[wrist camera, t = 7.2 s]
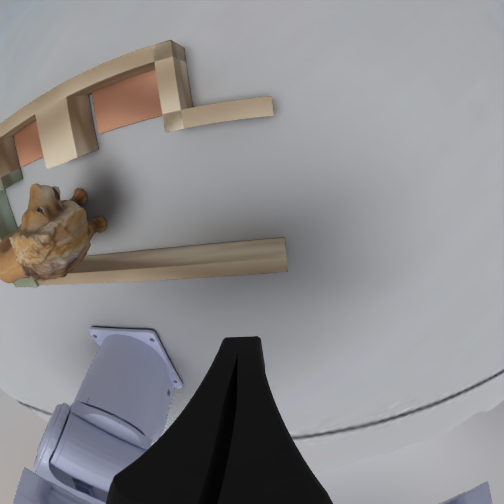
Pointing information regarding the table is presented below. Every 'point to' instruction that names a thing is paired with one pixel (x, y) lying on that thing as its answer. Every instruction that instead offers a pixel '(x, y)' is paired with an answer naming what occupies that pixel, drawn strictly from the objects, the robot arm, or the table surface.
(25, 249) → the lion figurine
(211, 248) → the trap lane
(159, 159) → the table surface
